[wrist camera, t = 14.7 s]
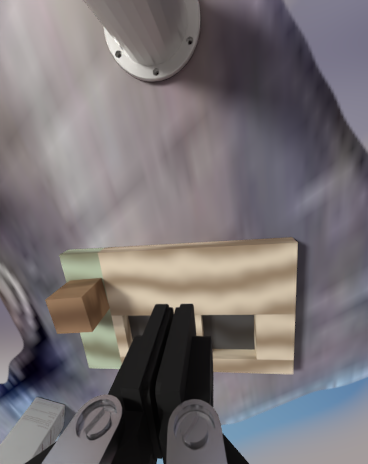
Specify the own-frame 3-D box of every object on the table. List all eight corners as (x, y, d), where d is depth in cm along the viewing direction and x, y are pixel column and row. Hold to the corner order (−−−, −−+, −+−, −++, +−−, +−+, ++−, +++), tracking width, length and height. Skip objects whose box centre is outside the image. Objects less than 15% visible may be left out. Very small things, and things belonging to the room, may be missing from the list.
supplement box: (36, 417, 55) (-14, 487, 43) (36, 395, 53) (-16, 463, 41) (64, 426, 55) (22, 499, 43) (66, 404, 52) (22, 475, 40)
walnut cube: (69, 280, 39) (45, 299, 34) (101, 277, 38) (81, 297, 33) (79, 310, 41) (57, 333, 35) (109, 308, 40) (92, 331, 34)
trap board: (68, 249, 41) (59, 255, 38) (292, 237, 35) (297, 242, 33) (95, 357, 47) (89, 368, 45) (288, 362, 41) (293, 374, 39)
